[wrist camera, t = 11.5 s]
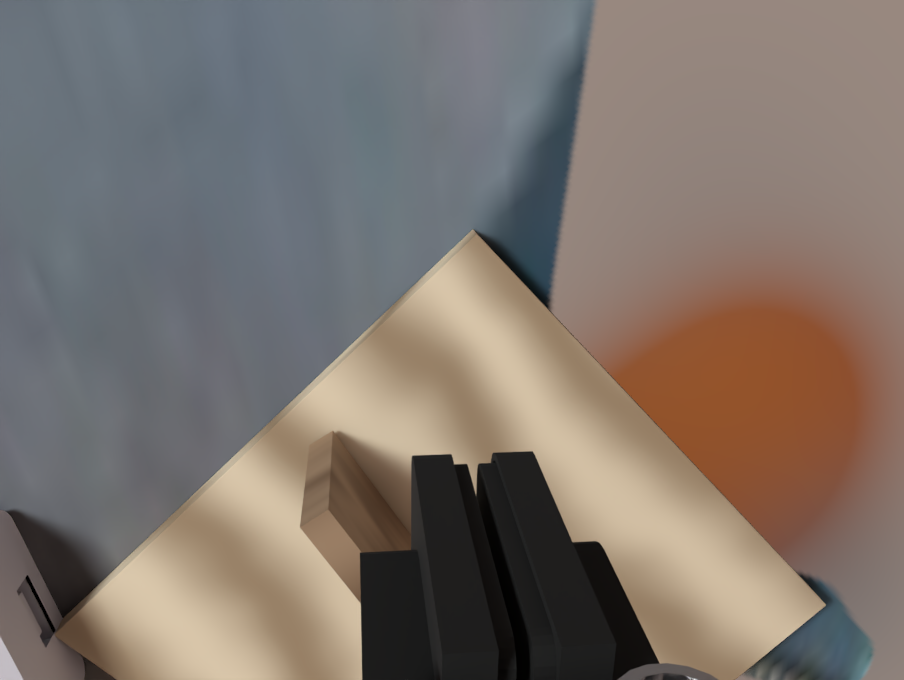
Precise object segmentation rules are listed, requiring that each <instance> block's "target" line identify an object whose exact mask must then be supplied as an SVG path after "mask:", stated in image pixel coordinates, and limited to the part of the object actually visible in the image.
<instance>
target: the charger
mask: <svg viewBox="0 0 904 680" xmlns="http://www.w3.org/2000/svg"><path fill="white" fill-rule="evenodd" d="M27 575H28V576H29V578H30V580H31V582H32V584H33V586H34V588H35V590H36V592H37V594H38V596H39V598H40V600H41V602H42V604H43V606H44V608H45V610H46V612H47V614H48V616H49V618H50V619H51V621H52V623H53V625H54V627H55V629H56V630H55V632H54V633H53V631H52V629H51V628H50V626H49V624H48V622H47V620H46V618H45V616H44V614H43V612H42V610H41V608H40V606H39V604H38V602H37V600H36V598H35V596H34V594H33V592H32V590H31V588H30V586H29V584H28V583H27V581H26V579H25V578H26V576H27ZM62 619H63V618H62V616H61V614H60V612H59V610H58V608H57V606H56V604H55V602H54V600H53V598H52V596H51V594H50V592H49V590H48V588H47V586H46V584H45V582H44V580H43V578H42V576H41V574H40V572H39V570H38V568H37V566H36V564H35V562H34V560H33V558H32V556H31V554H30V552H29V550H28V548H27V546H26V544H25V542H24V540H23V538H22V536H21V534H20V532H19V531H18V529H17V527H16V525H15V523H14V521H13V519H12V517H11V516H10V515H9V514H8V513H7V512H5V511H3V510H0V680H84V678H85V666H84V662H83V658H82V656H81V654H80V653H78V652H77V651H75V650H74V649H73V648H71V647H70V646H68V645H67V644H66V643H64V642H63V641H61V640H60V639H58V638H57V637H56V636H55V633H56V631H57V629H58V627H59V625H60V623H61V621H62Z"/></svg>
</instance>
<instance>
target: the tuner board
mask: <svg viewBox="0 0 904 680" xmlns="http://www.w3.org/2000/svg"><path fill="white" fill-rule="evenodd" d="M331 431H334V433H335V434H336V435H337V437H338V438H339V439H340V441H341V442H342V444H343V445H344V446H345V448H346V449H347V450H348V452H349V453H350V454H351V456H352V457H353V458H354V460H355V461H356V462H357V464H358V465H359V466H360V468H361V469H362V470H363V472H364V473H365V474H366V476H367V477H368V478H369V480H370V481H371V482H372V484H373V485H374V486H375V488H376V489H377V490H378V492H379V493H380V494H381V496H382V497H383V498H384V500H385V501H386V502H387V504H388V505H389V506H390V508H391V509H392V510H393V512H394V513H395V514H396V516H397V517H398V518H399V520H400V521H401V522H402V524H403V525H404V526H405V528H406V529H407V530H408V532H409V533H410V534H411V461H412V456H414V455H442V454H452V457H453V461H454V464H467V465H468V468H469V472H470V475H471V479H472V483H473V486H474V490H475V494H476V487H477V468H478V464H479V463H491V458H492V454H493V453H497V452H524V451H533V453H534V454H535V457H536V459H537V461H538V463H539V466H540V468H541V470H542V473H543V475H544V477H545V480H546V482H547V484H548V487H549V489H550V491H551V494H552V496H553V498H554V500H555V503H556V505H557V507H558V510H559V512H560V514H561V517H562V519H563V521H564V524H565V526H566V528H567V531H568V533H569V535H570V537H571V540H572V542H587V541H597V542H599V543H600V544H601V545H602V547H603V548H604V550H605V552H606V554H607V556H608V558H609V560H610V562H611V564H612V566H613V569H614V571H615V573H616V575H617V577H618V579H619V581H620V583H621V585H622V587H623V589H624V591H625V593H626V595H627V597H628V599H629V601H630V603H631V605H632V608H633V610H634V612H635V614H636V616H637V618H638V620H639V622H640V624H641V626H642V628H643V630H644V632H645V634H646V636H647V638H648V640H649V642H650V644H651V647H652V649H653V651H654V653H655V655H656V657H657V659H658V661H659V663H660V664H661V663H670V664H676V665H683V666H689V667H692V668H694V669H697V670H700V671H703V672H705V673H708V674H710V675H712V676H714V677H715V678H717V679H718V680H735V679H736V678H738V677H739V676H740V675H741V674H742V673H744V672H745V671H746V670H747V669H749V668H750V667H751V666H752V665H754V664H755V663H756V662H757V661H758V660H760V659H761V658H762V657H763V656H765V655H766V654H767V653H768V652H769V651H771V650H772V649H773V648H774V647H776V646H777V645H778V644H779V643H780V642H782V641H783V640H784V639H785V638H787V637H788V636H789V635H790V634H792V633H793V632H794V631H795V630H796V629H798V628H799V627H800V626H801V625H803V624H804V623H805V622H806V621H807V620H809V619H810V618H811V617H812V616H814V615H815V614H816V613H817V612H818V611H820V610H821V609H822V608H823V607H825V606H826V604H825V603H824V602H823V601H822V600H821V599H820V598H819V596H818V595H817V594H816V593H815V592H814V591H813V590H812V589H811V588H810V587H809V586H808V584H807V583H806V582H805V581H804V580H803V579H802V578H801V577H800V576H799V575H798V574H797V573H796V572H795V571H794V570H793V569H792V568H791V566H789V564H788V563H787V562H786V561H785V560H784V559H783V558H782V557H781V556H780V555H779V554H778V553H777V552H776V551H775V550H774V549H773V547H772V546H771V545H770V544H769V543H768V542H767V541H766V540H765V539H764V538H763V537H762V536H761V535H760V534H759V533H758V531H757V530H755V528H754V527H753V526H752V525H751V524H750V523H749V522H748V521H747V520H746V519H745V518H744V517H743V515H742V514H741V513H740V512H739V511H738V510H737V509H736V508H735V507H734V506H733V505H732V504H731V503H730V502H729V501H728V500H727V498H726V497H725V496H724V495H723V494H722V493H721V492H720V491H719V490H718V489H717V488H716V487H715V486H714V485H713V484H712V483H711V481H710V480H709V479H708V478H707V477H706V476H705V475H704V474H703V473H702V472H701V471H700V470H699V469H698V468H697V467H696V466H695V464H694V463H693V462H692V461H691V460H690V459H689V458H688V457H687V456H686V455H685V454H684V453H683V452H682V451H681V450H680V449H679V447H678V446H677V445H676V444H675V443H674V442H673V441H672V440H671V439H670V438H669V437H668V436H667V435H666V434H665V433H664V432H663V431H662V429H661V428H659V426H658V425H657V424H656V423H655V422H654V421H653V420H652V419H651V418H650V417H649V416H648V415H647V414H646V413H645V411H644V410H643V409H642V408H641V407H640V406H639V405H638V404H637V403H636V402H635V401H634V400H633V399H632V398H631V397H630V395H629V394H628V393H627V392H626V391H625V390H624V389H623V388H622V387H621V386H620V385H619V384H618V383H617V382H616V381H615V380H614V378H613V377H612V376H611V375H610V374H609V373H608V372H607V371H606V370H605V369H604V368H603V367H602V366H601V365H600V364H599V363H598V362H597V361H596V359H595V358H594V357H593V356H592V355H591V354H590V353H589V352H588V351H587V350H586V349H585V348H584V347H583V346H582V344H581V343H580V342H579V341H578V340H577V339H576V338H575V337H574V336H573V335H572V334H571V333H570V332H569V331H568V330H567V329H566V327H565V326H564V325H562V323H561V322H560V321H559V320H558V319H557V318H556V317H555V316H554V315H553V314H552V313H551V312H550V310H549V309H548V308H547V307H546V306H545V305H544V304H543V303H542V302H541V301H540V300H539V299H538V298H537V297H536V296H535V295H534V293H533V292H532V291H531V290H530V289H529V288H528V287H527V286H526V285H525V284H524V283H523V282H522V281H521V280H520V279H519V278H518V277H517V275H516V274H515V273H514V272H513V271H512V270H511V269H510V268H509V267H508V266H507V265H506V264H505V263H504V262H503V261H502V260H501V258H500V257H499V256H498V255H497V254H496V253H495V252H494V251H493V250H492V249H491V248H490V247H489V246H488V245H487V244H486V243H485V241H484V240H483V239H482V238H481V237H480V236H479V235H478V234H477V233H476V232H475V231H474V230H472V231H470V232H469V233H468V234H467V235H466V236H465V237H464V238H463V239H462V240H461V241H460V242H459V243H458V244H457V245H456V246H455V247H454V248H453V249H452V250H450V251H449V252H448V253H447V254H446V255H445V256H444V257H443V258H442V259H441V260H440V261H439V262H438V263H437V264H436V265H435V266H434V267H433V268H432V269H430V270H429V271H428V272H427V273H426V274H425V275H424V276H423V277H422V278H421V279H420V280H419V281H418V282H417V283H416V284H415V285H414V286H413V287H411V288H410V289H409V290H408V291H407V292H406V293H405V294H404V295H403V296H402V297H401V298H400V299H399V300H398V301H397V302H396V303H395V304H394V305H393V306H391V307H390V308H389V309H388V310H387V311H386V312H385V313H384V314H383V315H382V316H381V317H380V318H379V319H378V320H377V321H376V322H375V323H374V324H373V325H371V326H370V327H369V328H368V329H367V330H366V331H365V332H364V333H363V334H362V335H361V336H360V337H359V338H358V339H357V340H356V341H355V342H354V343H353V344H351V345H350V346H349V347H348V348H347V349H346V350H345V351H344V352H343V353H342V354H341V355H340V356H339V357H338V358H337V359H336V360H335V361H334V362H332V363H331V364H330V365H329V366H328V367H327V368H326V369H325V370H324V371H323V372H322V373H321V374H320V375H319V376H318V377H317V378H316V379H315V380H314V381H312V382H311V383H310V384H309V385H308V386H307V387H306V388H305V389H304V390H303V391H302V392H301V393H300V394H299V395H298V396H297V397H296V398H295V399H294V400H292V401H291V402H290V403H289V404H288V405H287V406H286V407H285V408H284V409H283V410H282V411H281V412H280V413H279V414H278V415H277V416H276V417H275V418H274V419H272V420H271V421H270V422H269V423H268V424H267V425H266V426H265V427H264V428H263V429H262V430H261V431H260V432H259V433H258V434H257V435H256V436H255V437H254V438H252V439H251V440H250V441H249V442H248V443H247V444H246V445H245V446H244V447H243V448H242V449H241V450H240V451H239V452H238V453H237V454H236V455H235V456H233V457H232V458H231V459H230V460H229V461H228V462H227V463H226V464H225V465H224V466H223V467H222V468H221V469H220V470H219V471H218V472H217V473H216V474H215V475H213V476H212V477H211V478H210V479H209V480H208V481H207V482H206V483H205V484H204V485H203V486H202V487H201V488H200V489H199V490H198V491H197V492H196V493H195V494H193V495H192V496H191V497H190V498H189V499H188V500H187V501H186V502H185V503H184V504H183V505H182V506H181V507H180V508H179V509H178V510H177V511H176V512H175V513H173V514H172V515H171V516H170V517H169V518H168V519H167V520H166V521H165V522H164V523H163V524H162V525H161V526H160V527H159V528H158V529H157V530H156V531H154V532H153V533H152V534H151V535H150V536H149V537H148V538H147V539H146V540H145V541H144V542H143V543H142V544H141V545H140V546H139V547H138V548H137V549H136V550H134V551H133V552H132V553H131V554H130V555H129V556H128V557H127V558H126V559H125V560H124V561H123V562H122V563H121V564H120V565H119V566H118V567H117V568H116V569H114V570H113V571H112V572H111V573H110V574H109V575H108V576H107V577H106V578H105V579H104V580H103V581H102V582H101V583H100V584H99V585H98V586H97V587H96V588H94V589H93V590H92V591H91V592H90V593H89V594H88V595H87V596H86V597H85V598H84V599H83V600H82V601H81V602H80V603H79V604H78V605H77V606H76V607H74V608H73V609H72V610H71V611H70V612H69V613H68V614H67V615H66V616H65V617H64V618H63V619H62V621H61V623H60V625H59V627H58V629H57V631H56V633H55V636H56V637H57V638H58V639H60V640H61V641H63V642H64V643H66V644H67V645H68V646H70V647H71V648H73V649H74V650H75V651H77V652H78V653H80V654H81V655H83V656H84V657H85V658H87V659H88V660H90V661H91V662H92V663H94V664H95V665H97V666H98V667H99V668H101V669H102V670H104V671H105V672H107V673H108V674H109V675H111V676H112V677H114V678H115V679H116V680H362V641H361V603H360V602H359V601H358V599H357V598H356V597H355V596H354V594H353V593H352V592H351V591H350V589H349V588H348V587H347V586H346V584H345V583H344V582H343V581H342V579H341V578H340V577H339V576H338V574H337V573H336V572H335V571H334V569H333V568H332V567H331V566H330V565H329V563H328V562H327V561H326V560H325V558H324V557H323V556H322V555H321V553H320V552H319V551H318V550H317V548H316V547H315V546H314V545H313V543H312V542H311V541H310V540H309V538H308V537H307V536H306V535H305V533H304V532H303V531H302V530H301V528H300V522H301V513H302V504H303V496H304V487H305V479H306V470H307V462H308V453H309V445H311V444H312V443H314V442H315V441H317V440H318V439H320V438H322V437H323V436H325V435H326V434H328V433H330V432H331Z"/></svg>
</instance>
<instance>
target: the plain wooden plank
mask: <svg viewBox="0 0 904 680" xmlns="http://www.w3.org/2000/svg"><path fill="white" fill-rule="evenodd" d="M300 528H301V530H302V531H303V532H304V533H305V535H306V536H307V537H308V538H309V540H310V541H311V542H312V543H313V545H314V546H315V547H316V548H317V550H318V551H319V552H320V553H321V555H322V556H323V557H324V558H325V560H326V561H327V562H328V563H329V565H330V566H331V567H332V568H333V569H334V571H335V572H336V573H337V574H338V576H339V577H340V578H341V579H342V581H343V582H344V583H345V584H346V586H347V587H348V588H349V589H350V591H351V592H352V593H353V594H354V596H355V597H356V598H357V599H358V601H359V602H360V603H361V589H360V553H361V552H382V551H402V550H411V534H410V533H409V532H408V530H407V529H406V528H405V526H404V525H403V524H402V522H401V521H400V520H399V518H398V517H397V516H396V514H395V513H394V512H393V510H392V509H391V508H390V506H389V505H388V504H387V502H386V501H385V500H384V498H383V497H382V496H381V494H380V493H379V492H378V490H377V489H376V488H375V486H374V485H373V484H372V482H371V481H370V480H369V478H368V477H367V476H366V474H365V473H364V472H363V470H362V469H361V468H360V466H359V465H358V464H357V462H356V461H355V460H354V458H353V457H352V456H351V454H350V453H349V452H348V450H347V449H346V448H345V446H344V445H343V444H342V442H341V441H340V439H339V438H338V437H337V435H336V434H335V433H334V431H331V432H330V433H328V434H326V435H325V436H323V437H322V438H320V439H318V440H317V441H315V442H314V443H312V444H311V445H309V453H308V462H307V470H306V479H305V487H304V496H303V504H302V513H301V522H300Z"/></svg>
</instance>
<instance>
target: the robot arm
mask: <svg viewBox="0 0 904 680" xmlns="http://www.w3.org/2000/svg"><path fill="white" fill-rule="evenodd" d="M360 589H361V641H362V680H718V679H717V678H715V677H714V676H712V675H710V674H708V673H705V672H703V671H700V670H697V669H694V668H692V667H689V666H683V665H676V664H670V663H661V664H660V663H659V661H658V659H657V657H656V655H655V653H654V651H653V649H652V647H651V644H650V642H649V640H648V638H647V636H646V634H645V632H644V630H643V628H642V626H641V624H640V622H639V620H638V618H637V616H636V614H635V612H634V610H633V608H632V605H631V603H630V601H629V599H628V597H627V595H626V593H625V591H624V589H623V587H622V585H621V583H620V581H619V579H618V577H617V575H616V573H615V571H614V569H613V566H612V564H611V562H610V560H609V558H608V556H607V554H606V552H605V550H604V548H603V547H602V545H601V544H600V543H599V542H597V541H587V542H572V540H571V537H570V535H569V533H568V531H567V528H566V526H565V524H564V521H563V519H562V517H561V514H560V512H559V510H558V507H557V505H556V503H555V500H554V498H553V496H552V494H551V491H550V489H549V487H548V484H547V482H546V480H545V477H544V475H543V473H542V470H541V468H540V466H539V463H538V461H537V459H536V457H535V454H534V453H533V451H524V452H497V453H493V454H492V458H491V463H479V464H478V468H477V487H476V494H475V490H474V486H473V483H472V479H471V475H470V472H469V468H468V465H467V464H454V461H453V457H452V454H442V455H414V456H412V461H411V550H402V551H382V552H361V553H360Z"/></svg>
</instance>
